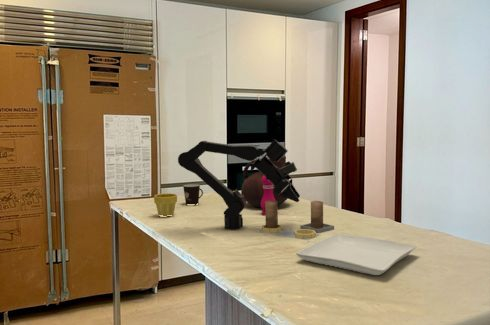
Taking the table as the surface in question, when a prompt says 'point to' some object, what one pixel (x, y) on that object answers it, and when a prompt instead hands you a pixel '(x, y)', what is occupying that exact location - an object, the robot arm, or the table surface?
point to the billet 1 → (271, 214)
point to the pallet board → (290, 232)
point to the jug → (259, 185)
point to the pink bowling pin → (267, 193)
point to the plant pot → (165, 203)
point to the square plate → (356, 253)
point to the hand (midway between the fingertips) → (298, 199)
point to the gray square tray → (308, 226)
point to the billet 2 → (317, 214)
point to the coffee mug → (192, 193)
